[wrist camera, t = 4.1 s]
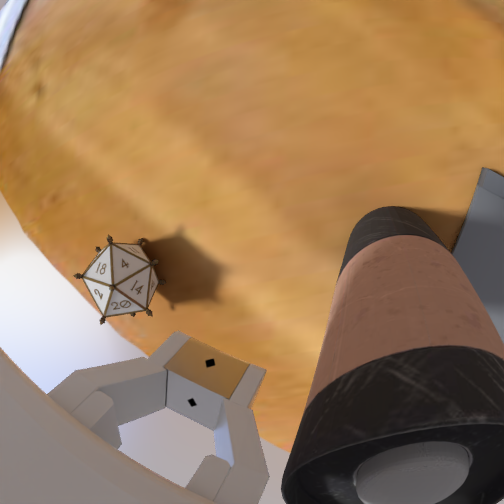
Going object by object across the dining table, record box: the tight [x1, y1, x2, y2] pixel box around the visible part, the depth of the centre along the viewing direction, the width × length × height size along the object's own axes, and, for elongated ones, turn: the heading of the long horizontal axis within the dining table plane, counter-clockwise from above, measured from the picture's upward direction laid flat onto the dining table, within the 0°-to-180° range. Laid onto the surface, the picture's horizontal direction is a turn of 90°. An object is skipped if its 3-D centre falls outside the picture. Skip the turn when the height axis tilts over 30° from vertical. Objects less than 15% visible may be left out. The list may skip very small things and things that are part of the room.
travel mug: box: [281, 206, 504, 504], centre depth 14 cm, size 8×8×20 cm
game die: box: [74, 235, 166, 324], centre depth 28 cm, size 9×8×10 cm
